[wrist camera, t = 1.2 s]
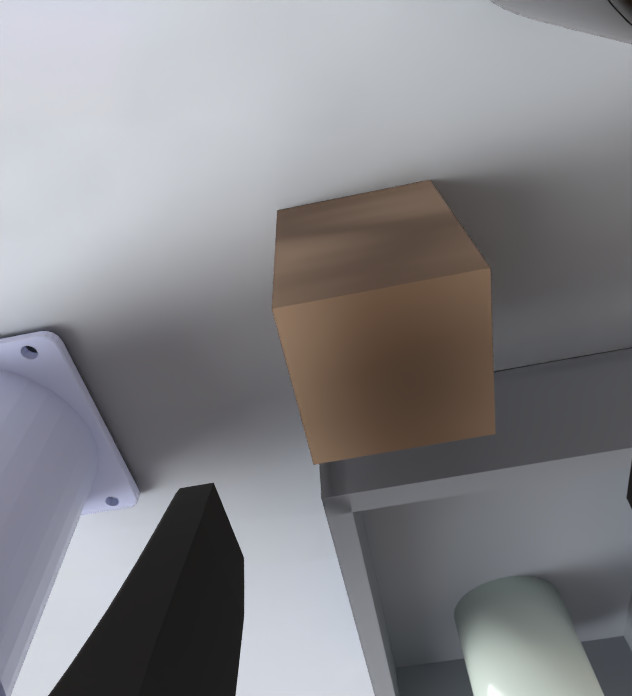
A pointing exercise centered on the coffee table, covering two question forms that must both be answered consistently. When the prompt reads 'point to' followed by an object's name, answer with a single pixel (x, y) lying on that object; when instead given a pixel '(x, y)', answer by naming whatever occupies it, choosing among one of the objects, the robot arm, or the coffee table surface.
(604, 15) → the supplement bottle
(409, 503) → the tote
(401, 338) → the walnut block
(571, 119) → the coffee table surface
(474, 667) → the pale green cylinder
